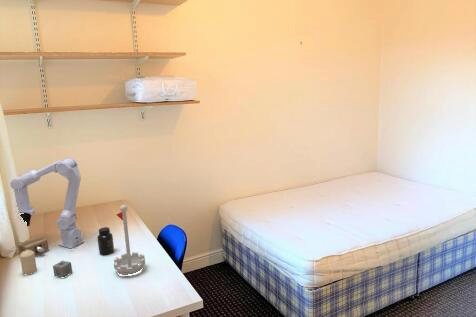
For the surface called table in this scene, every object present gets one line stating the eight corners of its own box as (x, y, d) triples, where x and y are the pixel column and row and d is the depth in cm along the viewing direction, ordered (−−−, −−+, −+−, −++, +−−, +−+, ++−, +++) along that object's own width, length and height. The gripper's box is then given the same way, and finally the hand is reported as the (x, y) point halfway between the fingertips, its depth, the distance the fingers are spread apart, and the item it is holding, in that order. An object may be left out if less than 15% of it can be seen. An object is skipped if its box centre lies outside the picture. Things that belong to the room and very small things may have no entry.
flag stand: (152, 267, 165) (146, 202, 158) (129, 281, 154) (122, 212, 147) (130, 260, 171) (124, 198, 165) (108, 273, 160) (100, 207, 154)
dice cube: (63, 270, 164) (62, 260, 163) (72, 272, 162) (70, 262, 161) (54, 276, 160) (52, 266, 159) (63, 278, 158) (61, 267, 157)
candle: (21, 276, 161) (17, 254, 159) (24, 269, 166) (21, 249, 164) (35, 273, 162) (31, 252, 160) (38, 267, 168) (34, 247, 165)
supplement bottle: (114, 248, 184) (111, 225, 182) (114, 254, 178) (111, 230, 176) (99, 250, 182) (96, 227, 180) (99, 256, 176) (96, 233, 173)
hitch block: (49, 250, 184) (47, 239, 183) (29, 259, 175) (27, 247, 174) (38, 247, 188) (36, 236, 186) (19, 256, 179) (17, 244, 178)
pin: (47, 252, 180) (46, 243, 179) (38, 257, 176) (37, 247, 175) (32, 247, 186) (30, 238, 185) (22, 251, 182) (21, 242, 181)
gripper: (39, 199, 186) (43, 225, 189) (21, 196, 192) (25, 221, 196) (25, 204, 180) (30, 230, 183) (7, 200, 186) (12, 225, 189)
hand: (26, 226), depth 189 cm, fingers closed
